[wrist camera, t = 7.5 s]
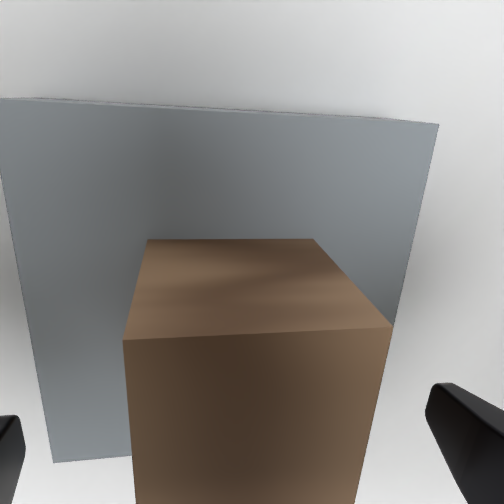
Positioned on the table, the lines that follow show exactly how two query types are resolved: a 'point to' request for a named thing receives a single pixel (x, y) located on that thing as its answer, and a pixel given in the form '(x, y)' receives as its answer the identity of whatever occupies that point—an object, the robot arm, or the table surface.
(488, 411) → the robot arm
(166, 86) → the table surface
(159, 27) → the table surface
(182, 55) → the table surface
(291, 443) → the walnut cube
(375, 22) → the table surface
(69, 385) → the grey base
